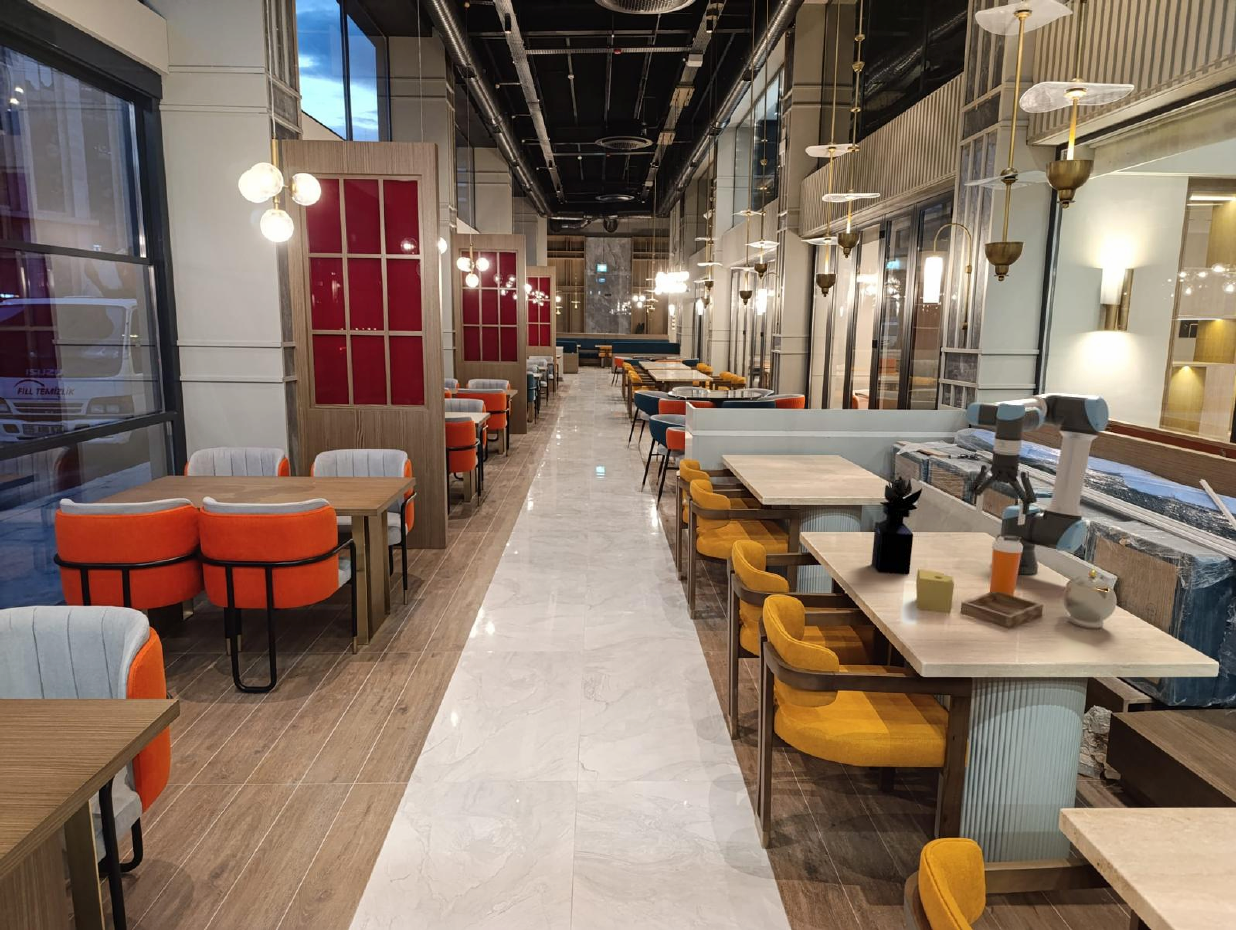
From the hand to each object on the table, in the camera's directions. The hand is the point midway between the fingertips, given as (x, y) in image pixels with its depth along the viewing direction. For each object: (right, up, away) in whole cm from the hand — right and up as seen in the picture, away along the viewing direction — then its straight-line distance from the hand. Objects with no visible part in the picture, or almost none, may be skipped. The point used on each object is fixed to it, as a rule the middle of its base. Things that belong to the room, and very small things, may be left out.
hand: (999, 519), depth 250 cm
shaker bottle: (+5, -26, +10) cm, 28 cm away
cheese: (-22, -27, -3) cm, 35 cm away
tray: (-3, -28, -8) cm, 30 cm away
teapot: (+19, -30, -12) cm, 37 cm away
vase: (-22, -20, +35) cm, 46 cm away
